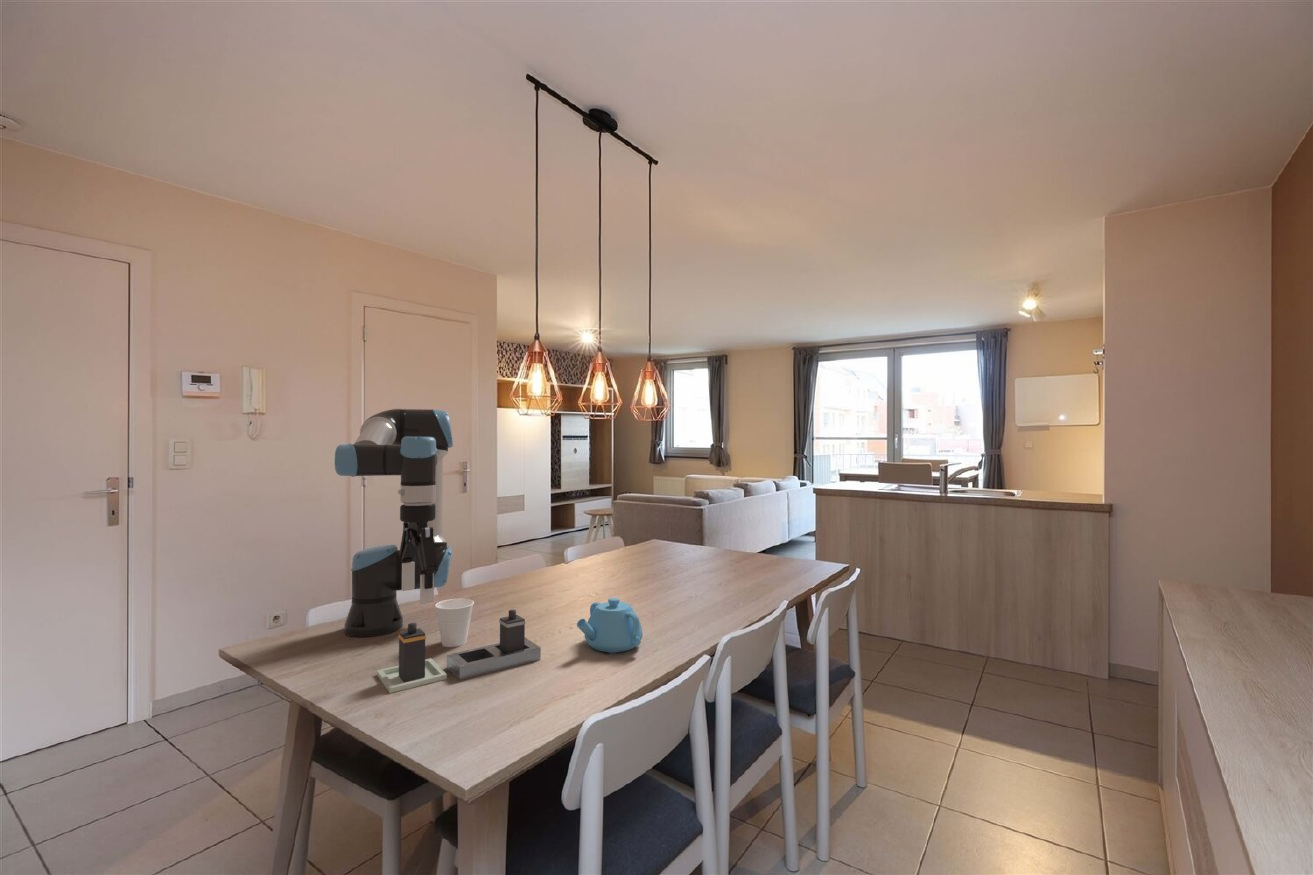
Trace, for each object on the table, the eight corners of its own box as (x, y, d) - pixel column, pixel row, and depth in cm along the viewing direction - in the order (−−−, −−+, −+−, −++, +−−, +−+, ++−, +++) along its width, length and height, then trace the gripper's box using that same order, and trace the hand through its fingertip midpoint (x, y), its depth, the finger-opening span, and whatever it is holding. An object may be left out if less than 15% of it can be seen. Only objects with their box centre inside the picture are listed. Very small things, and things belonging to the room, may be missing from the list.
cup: (461, 652, 145) (461, 609, 145) (426, 649, 147) (426, 607, 147) (480, 639, 154) (481, 599, 154) (447, 636, 156) (448, 597, 156)
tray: (377, 676, 130) (377, 670, 130) (430, 664, 137) (430, 658, 137) (389, 695, 120) (390, 688, 120) (447, 680, 128) (447, 674, 128)
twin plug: (499, 658, 140) (499, 609, 140) (516, 654, 143) (517, 606, 143) (506, 664, 136) (507, 614, 136) (524, 659, 139) (525, 611, 139)
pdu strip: (446, 669, 134) (446, 654, 134) (524, 650, 146) (524, 637, 146) (459, 682, 127) (459, 666, 127) (540, 661, 139) (540, 647, 139)
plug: (398, 675, 129) (398, 623, 129) (419, 670, 132) (420, 619, 132) (403, 682, 125) (404, 628, 125) (425, 677, 128) (426, 624, 128)
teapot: (660, 648, 149) (660, 600, 149) (603, 670, 134) (603, 617, 134) (609, 630, 162) (610, 586, 163) (553, 648, 148) (553, 600, 148)
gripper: (385, 499, 136) (384, 587, 136) (418, 510, 117) (417, 611, 117) (417, 498, 141) (416, 582, 141) (454, 507, 122) (453, 605, 122)
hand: (417, 596), depth 129 cm, fingers open, 13 cm apart
